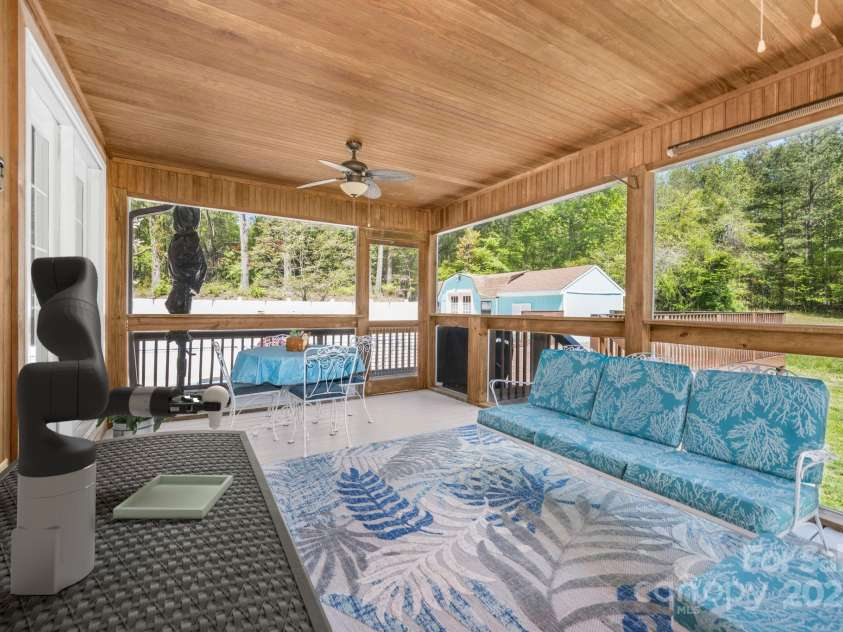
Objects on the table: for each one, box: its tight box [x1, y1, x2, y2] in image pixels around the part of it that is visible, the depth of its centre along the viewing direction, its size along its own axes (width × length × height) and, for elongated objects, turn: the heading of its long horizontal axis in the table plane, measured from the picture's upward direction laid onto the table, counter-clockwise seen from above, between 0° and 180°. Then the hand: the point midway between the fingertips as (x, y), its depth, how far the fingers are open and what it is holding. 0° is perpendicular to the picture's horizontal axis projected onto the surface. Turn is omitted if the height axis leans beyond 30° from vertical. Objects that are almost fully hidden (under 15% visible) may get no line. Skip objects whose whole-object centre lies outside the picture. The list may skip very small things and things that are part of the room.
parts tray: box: [112, 474, 234, 520], centre depth 93 cm, size 17×17×2 cm
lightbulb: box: [202, 385, 230, 430], centre depth 108 cm, size 6×6×11 cm
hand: (225, 403), depth 108 cm, fingers closed on lightbulb, 6 cm apart
